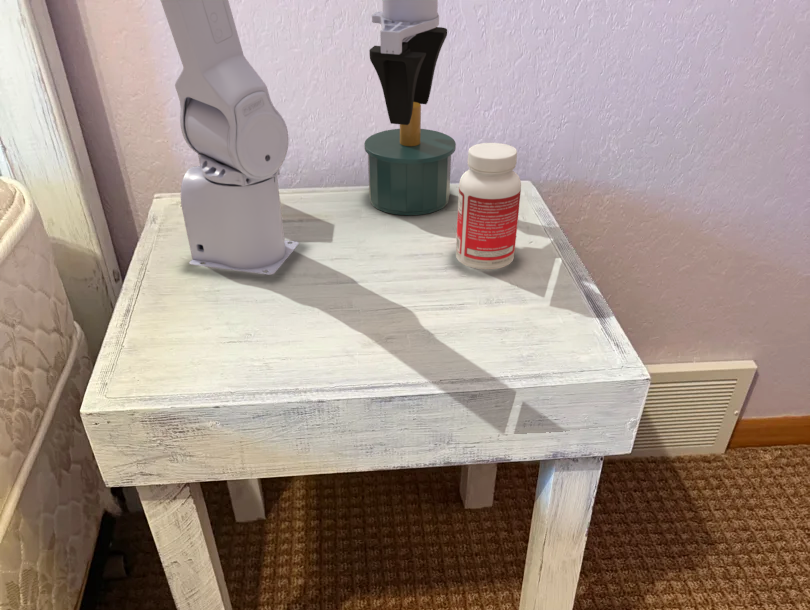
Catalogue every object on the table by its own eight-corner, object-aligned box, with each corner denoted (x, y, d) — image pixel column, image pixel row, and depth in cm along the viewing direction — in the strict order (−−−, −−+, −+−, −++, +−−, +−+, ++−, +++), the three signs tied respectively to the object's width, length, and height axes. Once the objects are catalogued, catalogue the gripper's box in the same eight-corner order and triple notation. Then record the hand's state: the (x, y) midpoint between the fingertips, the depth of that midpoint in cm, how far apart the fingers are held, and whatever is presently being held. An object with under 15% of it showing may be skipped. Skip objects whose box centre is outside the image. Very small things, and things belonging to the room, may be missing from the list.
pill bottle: (525, 264, 80) (538, 153, 72) (479, 279, 78) (487, 166, 70) (489, 243, 84) (497, 135, 76) (443, 257, 82) (448, 146, 74)
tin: (359, 210, 90) (357, 157, 86) (382, 181, 97) (381, 130, 93) (438, 219, 88) (440, 165, 84) (456, 188, 95) (458, 137, 91)
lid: (456, 170, 85) (459, 120, 81) (362, 169, 85) (360, 119, 82) (454, 138, 92) (456, 91, 89) (367, 137, 93) (365, 90, 89)
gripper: (392, -50, 82) (393, 91, 92) (348, -27, 72) (355, 129, 82) (456, -47, 81) (450, 96, 90) (420, -23, 71) (418, 135, 80)
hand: (409, 112), depth 86 cm, fingers open, 7 cm apart
